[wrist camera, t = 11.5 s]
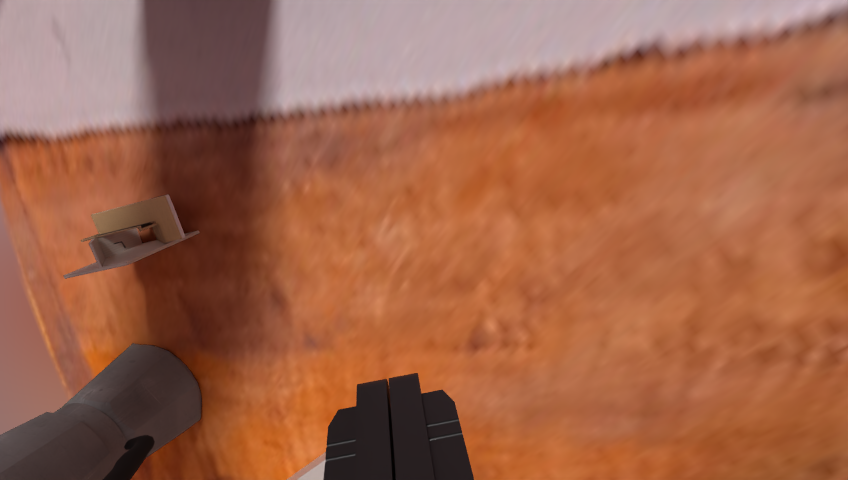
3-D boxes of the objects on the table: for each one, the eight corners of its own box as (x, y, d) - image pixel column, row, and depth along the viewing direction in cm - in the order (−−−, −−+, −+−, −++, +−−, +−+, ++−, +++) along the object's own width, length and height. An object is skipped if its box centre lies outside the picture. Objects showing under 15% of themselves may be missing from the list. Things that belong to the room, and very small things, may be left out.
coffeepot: (125, 441, 48) (-108, 638, 31) (79, 352, 45) (-196, 512, 29) (261, 424, 43) (73, 647, 26) (218, 323, 41) (-17, 496, 24)
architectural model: (129, 203, 40) (39, 230, 33) (200, 184, 38) (121, 208, 31) (146, 244, 41) (62, 279, 34) (217, 228, 39) (143, 261, 32)
